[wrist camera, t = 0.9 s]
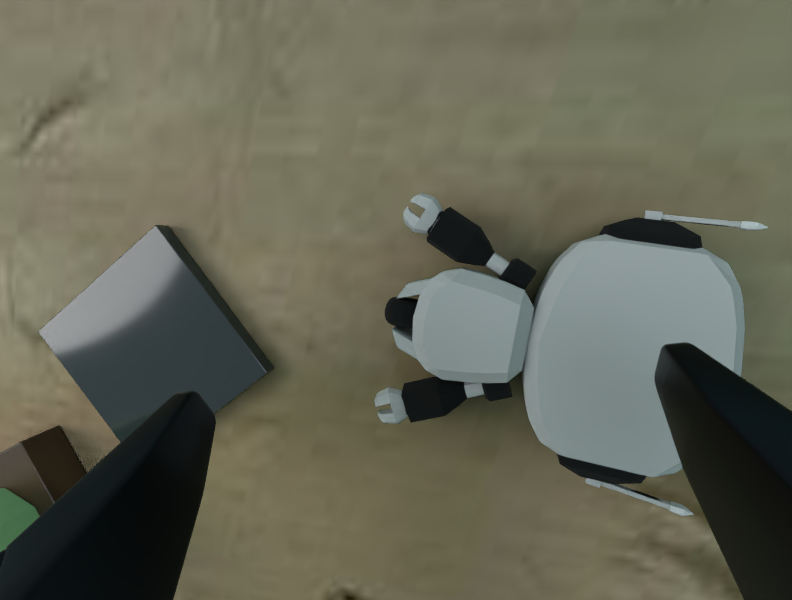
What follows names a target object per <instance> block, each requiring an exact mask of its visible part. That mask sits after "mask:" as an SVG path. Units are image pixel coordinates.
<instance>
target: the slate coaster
mask: <svg viewBox="0 0 792 600" xmlns="http://www.w3.org/2000/svg"><path fill="white" fill-rule="evenodd" d="M38 332H39V334H40V335H41V336H42V338H43V339H44V340H45V342H46V343H47V344H48V346H49V347H50V348H51V350H52V351H53V352H54V354H55V355H56V356H57V358H58V359H59V360H60V362H61V363H62V364H63V366H64V367H65V368H66V370H67V371H68V372H69V374H70V375H71V376H72V378H73V379H74V380H75V382H76V383H77V384H78V386H79V387H80V388H81V390H82V391H83V392H84V394H85V395H86V396H87V398H88V399H89V400H90V402H91V403H92V404H93V406H94V407H95V408H96V410H97V411H98V412H99V414H100V415H101V416H102V418H103V419H104V420H105V422H106V423H107V424H108V426H109V427H110V428H111V430H112V431H113V432H114V434H115V435H116V436H117V438H118V439H119V440H120V442H122V441H123V440H124V439H125V438H126V437H128V436H129V435H130V434H131V433H132V432H133V431H134V430H135V429H136V428H137V427H138V426H140V425H141V424H142V423H143V422H144V421H145V420H146V419H147V418H148V417H149V416H151V415H152V414H153V413H154V412H155V411H156V410H157V409H158V408H159V407H160V406H162V405H163V404H164V403H165V402H166V401H167V400H168V399H169V398H170V397H171V396H173V395H174V394H176V393H179V392H187V391H195V392H197V393H199V394H200V396H201V397H202V398H203V400H204V401H205V402H206V404H207V405H208V406H209V407H210V409H211V410H212V411H213V413H214V414H215V413H217V412H218V411H219V410H221V409H222V408H223V407H225V406H226V405H227V404H228V403H230V402H231V401H232V400H234V399H235V398H236V397H238V396H239V395H240V394H242V393H243V392H244V391H245V390H247V389H248V388H249V387H251V386H252V385H253V384H255V383H256V382H257V381H258V380H260V379H261V378H262V377H264V376H265V375H266V374H268V373H269V372H270V371H272V370H273V369H274V367H273V366H272V364H271V363H270V362H269V360H268V359H267V358H266V356H265V355H264V354H263V352H262V351H261V350H260V348H259V347H258V346H257V344H256V343H255V342H254V340H253V339H252V338H251V336H250V335H249V334H248V332H247V331H246V330H245V328H244V327H243V326H242V324H241V323H240V322H239V320H238V319H237V318H236V316H235V315H234V314H233V312H232V311H231V310H230V308H229V307H228V306H227V304H226V303H225V302H224V300H223V299H222V298H221V296H220V295H219V294H218V292H217V291H216V290H215V288H214V287H213V286H212V284H211V283H210V282H209V280H208V279H207V278H206V276H205V275H204V274H203V272H202V271H201V270H200V268H199V267H198V266H197V264H196V263H195V262H194V260H193V259H192V258H191V256H190V255H189V254H188V252H187V251H186V250H185V248H184V247H183V246H182V244H181V243H180V242H179V240H178V239H177V238H176V236H175V235H174V234H173V232H172V231H171V230H170V228H169V227H168V226H163V225H155V226H154V227H153V228H152V229H151V230H150V231H149V232H148V233H146V234H145V235H144V236H143V237H142V238H141V239H140V240H139V241H138V242H137V243H135V244H134V245H133V246H132V247H131V248H130V249H129V250H128V251H127V252H126V253H124V254H123V255H122V256H121V257H120V258H119V259H118V260H117V261H116V262H114V263H113V264H112V265H111V266H110V267H109V268H108V269H107V270H106V271H105V272H103V273H102V274H101V275H100V276H99V277H98V278H97V279H96V280H95V281H93V282H92V283H91V284H90V285H89V286H88V287H87V288H86V289H85V290H84V291H82V292H81V293H80V294H79V295H78V296H77V297H76V298H75V299H74V300H73V301H71V302H70V303H69V304H68V305H67V306H66V307H65V308H64V309H63V310H61V311H60V312H59V313H58V314H57V315H56V316H55V317H54V318H53V319H52V320H50V321H49V322H48V323H47V324H46V325H45V326H44V327H43V328H42V329H40V330H39V331H38Z"/></svg>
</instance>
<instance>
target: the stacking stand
mask: <svg viewBox="0 0 792 600" xmlns="http://www.w3.org/2000/svg"><path fill="white" fill-rule="evenodd" d="M85 475H86V473H85V471H84V469H83V468H82V466H81V464H80V462H79V460H78V459H77V457H76V455H75V453H74V452H73V450H72V448H71V446H70V444H69V443H68V441H67V439H66V437H65V435H64V434H63V432H62V430H61V428H60V427H59V426H56V427H54V428H52V429H49V430H47V431H45V432H42V433H40V434H38V435H35V436H33V437H31V438H28V439H26V440H24V441H21V442H19V443H18V444H16V445H14V446H12V447H11V448H9V449H7V450H5V451H3V452H2V453H0V488H6V489H8V490H9V491H11V492H13V493H14V494H16V495H17V496H19V497H20V498H22V499H23V500H25V501H27V502H28V503H30V504H31V505H33V506H34V507H35V508H36V510H37V512H38V514H39V515H40V516H41V515H42V514H43V513H44V512H45V511H46V510H47V509H48V508H49V507H51V506H52V505H53V504H54V503H55V502H56V501H57V500H58V499H59V498H60V497H62V496H63V495H64V494H65V493H66V492H67V491H68V490H69V489H70V488H71V487H73V486H74V485H75V484H76V483H77V482H78V481H79V480H80V479H81V478H82V477H84V476H85Z"/></svg>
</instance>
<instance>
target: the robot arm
mask: <svg viewBox="0 0 792 600" xmlns="http://www.w3.org/2000/svg"><path fill="white" fill-rule="evenodd" d="M654 381H655V386H656V390H657V393H658V396H659V399H660V402H661V405H662V408H663V411H664V414H665V417H666V420H667V423H668V426H669V429H670V432H671V435H672V438H673V441H674V444H675V447H676V450H677V453H678V456H679V459H680V461H681V464H682V467H683V469H684V471H685V474H686V476H687V478H688V481H689V483H690V485H691V487H692V489H693V491H694V494H695V496H696V498H697V500H698V502H699V504H700V506H701V509H702V511H703V513H704V515H705V517H706V519H707V521H708V523H709V526H710V528H711V530H712V532H713V534H714V536H715V538H716V541H717V543H718V545H719V547H720V549H721V551H722V553H723V556H724V558H725V560H726V562H727V564H728V566H729V568H730V571H731V573H732V575H733V577H734V579H735V581H736V583H737V586H738V588H739V590H740V592H741V594H742V596H743V598H744V600H792V411H790V410H789V409H788V408H786V407H785V406H783V405H782V404H780V403H779V402H777V401H776V400H774V399H773V398H771V397H770V396H768V395H767V394H765V393H764V392H762V391H761V390H760V389H758V388H757V387H755V386H754V385H752V384H751V383H749V382H748V381H746V380H745V379H743V378H742V377H740V376H739V375H737V374H736V373H734V372H733V371H732V370H730V369H729V368H727V367H726V366H724V365H723V364H721V363H720V362H718V361H717V360H715V359H714V358H712V357H711V356H709V355H708V354H706V353H705V352H704V351H702V350H701V349H699V348H698V347H696V346H695V345H693V344H691V343H687V342H682V343H672V344H665V345H664V346H663V347H662V348H661V350H660V354H659V358H658V362H657V366H656V370H655V375H654ZM215 425H216V420H215V415H214V413H213V411H212V410H211V409H210V407H209V406H208V405H207V404H206V402H205V401H204V400H203V398H202V397H201V396H200V394H199V393H197V392H195V391H187V392H179V393H176V394H174V395H173V396H171V397H170V398H169V399H168V400H167V401H166V402H165V403H164V404H163V405H162V406H160V407H159V408H158V409H157V410H156V411H155V412H154V413H153V414H152V415H151V416H149V417H148V418H147V419H146V420H145V421H144V422H143V423H142V424H141V425H140V426H138V427H137V428H136V429H135V430H134V431H133V432H132V433H131V434H130V435H129V436H128V437H126V438H125V439H124V440H123V441H122V442H121V443H120V444H119V445H118V446H117V447H115V448H114V449H113V450H112V451H111V452H110V453H109V454H108V455H107V456H106V457H104V458H103V459H102V460H101V461H100V462H99V463H98V464H97V465H96V466H95V467H93V468H92V469H91V470H90V471H89V472H88V473H87V474H86V475H85V476H84V477H82V478H81V479H80V480H79V481H78V482H77V483H76V484H75V485H74V486H73V487H71V488H70V489H69V490H68V491H67V492H66V493H65V494H64V495H63V496H62V497H60V498H59V499H58V500H57V501H56V502H55V503H54V504H53V505H52V506H51V507H49V508H48V509H47V510H46V511H45V512H44V513H43V514H42V515H41V516H40V517H38V518H37V519H36V520H35V521H34V522H33V523H32V524H31V525H30V526H29V527H27V528H26V529H25V530H24V531H23V532H22V533H21V534H20V535H19V536H18V537H16V538H15V539H14V540H13V541H12V542H11V543H10V544H9V545H8V546H7V548H6V550H2V551H1V552H0V600H173V599H174V595H175V592H176V588H177V585H178V581H179V578H180V574H181V571H182V567H183V563H184V560H185V556H186V553H187V549H188V546H189V542H190V539H191V535H192V532H193V528H194V525H195V521H196V518H197V514H198V511H199V507H200V504H201V500H202V496H203V491H204V487H205V482H206V476H207V470H208V465H209V459H210V454H211V448H212V442H213V437H214V431H215Z"/></svg>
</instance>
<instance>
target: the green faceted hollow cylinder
mask: <svg viewBox="0 0 792 600" xmlns="http://www.w3.org/2000/svg"><path fill="white" fill-rule="evenodd" d="M38 517H40V515H39V514H38V512H37V510H36V508H35V507H34V506H33V505H31V504H30V503H28V502H27V501H25V500H23V499H22V498H20V497H19V496H17V495H16V494H14V493H13V492H11V491H9V490H8V489H6V488H0V552H1V551H2V550H6V548H7V546H8V545H9V544H10V543H11V542H12V541H13V540H14V539H15V538H16V537H18V536H19V535H20V534H21V533H22V532H23V531H24V530H25V529H26V528H27V527H29V526H30V525H31V524H32V523H33V522H34V521H35V520H36V519H37V518H38Z"/></svg>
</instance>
